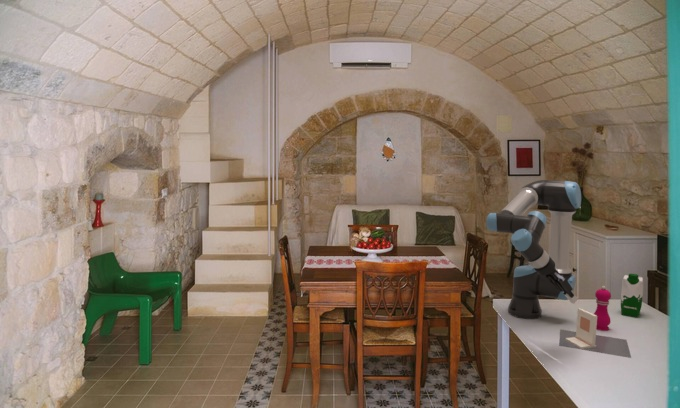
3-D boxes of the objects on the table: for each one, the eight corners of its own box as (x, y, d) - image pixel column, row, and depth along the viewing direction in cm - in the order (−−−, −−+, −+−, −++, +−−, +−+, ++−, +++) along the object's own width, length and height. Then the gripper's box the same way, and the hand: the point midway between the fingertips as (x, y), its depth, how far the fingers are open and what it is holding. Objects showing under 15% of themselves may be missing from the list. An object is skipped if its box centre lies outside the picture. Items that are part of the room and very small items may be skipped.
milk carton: (619, 315, 231) (622, 274, 229) (620, 309, 239) (623, 270, 236) (640, 318, 227) (644, 277, 224) (641, 313, 234) (644, 273, 232)
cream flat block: (591, 345, 192) (594, 316, 190) (575, 336, 200) (577, 308, 199) (595, 344, 192) (597, 315, 190) (578, 336, 201) (580, 308, 199)
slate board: (560, 331, 211) (560, 329, 210) (626, 341, 200) (626, 339, 200) (558, 348, 194) (559, 345, 193) (631, 360, 183) (631, 357, 183)
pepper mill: (612, 333, 208) (615, 288, 206) (594, 332, 210) (597, 287, 207) (606, 327, 215) (610, 284, 213) (589, 326, 217) (592, 283, 214)
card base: (581, 349, 190) (581, 346, 190) (565, 339, 199) (565, 337, 199) (595, 347, 192) (596, 345, 192) (579, 338, 201) (579, 336, 201)
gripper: (524, 265, 192) (557, 302, 198) (545, 273, 179) (580, 313, 185) (536, 251, 192) (569, 289, 199) (559, 258, 180) (593, 299, 186)
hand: (574, 300), depth 192 cm, fingers closed
